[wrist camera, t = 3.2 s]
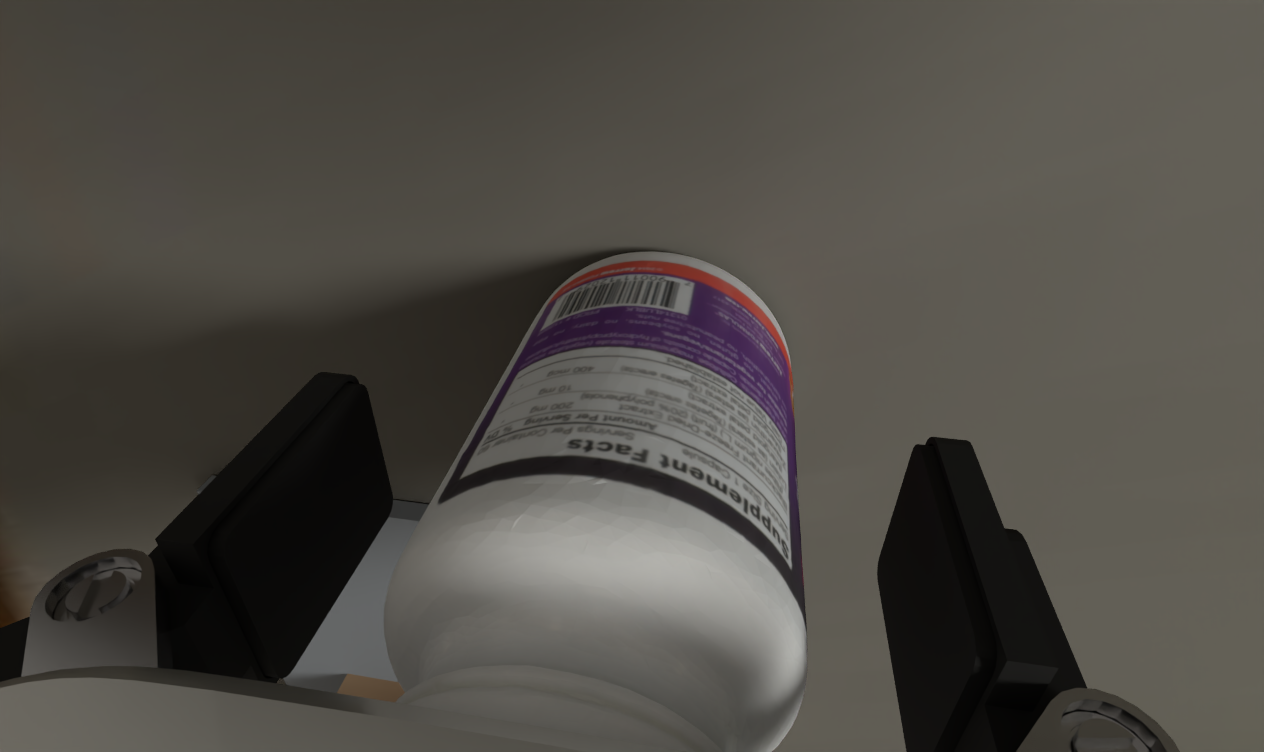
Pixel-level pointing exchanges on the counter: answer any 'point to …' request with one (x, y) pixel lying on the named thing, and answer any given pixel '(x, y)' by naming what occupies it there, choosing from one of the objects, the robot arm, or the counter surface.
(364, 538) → the robot arm
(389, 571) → the build mat
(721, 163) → the counter surface
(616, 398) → the pill bottle
